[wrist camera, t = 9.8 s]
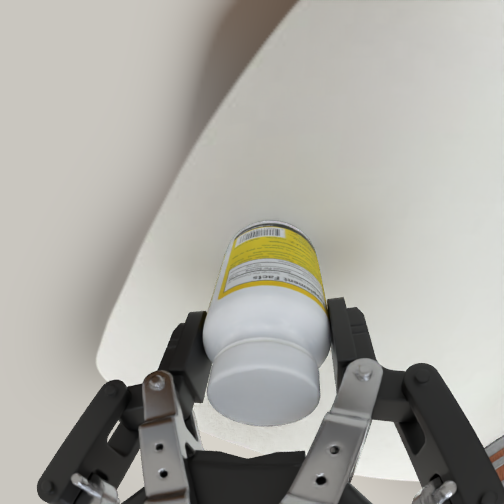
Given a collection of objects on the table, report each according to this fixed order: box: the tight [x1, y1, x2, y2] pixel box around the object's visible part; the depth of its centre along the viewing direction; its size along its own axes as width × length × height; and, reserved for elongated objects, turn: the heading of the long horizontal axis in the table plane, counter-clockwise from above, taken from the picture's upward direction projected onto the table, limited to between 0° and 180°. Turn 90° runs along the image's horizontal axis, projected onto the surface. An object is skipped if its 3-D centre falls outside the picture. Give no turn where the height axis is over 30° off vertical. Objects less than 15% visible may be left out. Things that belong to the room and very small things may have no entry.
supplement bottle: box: [203, 221, 331, 426], centre depth 14 cm, size 5×5×10 cm
